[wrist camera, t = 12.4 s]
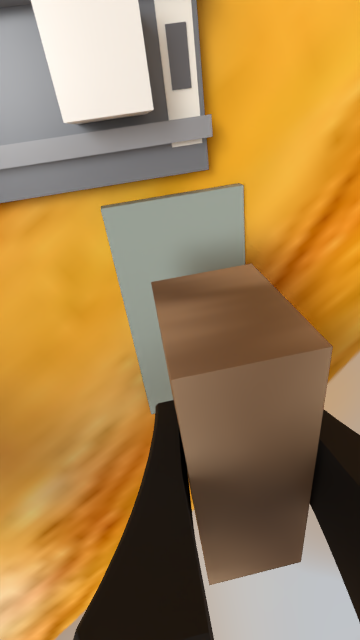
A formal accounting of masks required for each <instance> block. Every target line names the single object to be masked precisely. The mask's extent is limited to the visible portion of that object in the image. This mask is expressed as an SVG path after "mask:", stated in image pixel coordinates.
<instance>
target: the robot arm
mask: <svg viewBox="0 0 360 640" xmlns="http://www.w3.org/2000/svg"><path fill="white" fill-rule="evenodd" d="M155 411H156V412H155V424H154V431H153V438H152V442H151V447H150V452H149V457H148V461H147V465H146V468H145V472H144V476H143V479H142V483H141V486H140V489H139V492H138V495H137V498H136V501H135V504H134V507H133V510H132V512H131V515H130V518H129V520H128V523H127V525H126V528H125V530H124V533H123V535H122V538H121V540H120V542H119V545H118V547H117V549H116V551H115V554H114V556H113V558H112V560H111V562H110V564H109V566H108V569H107V571H106V573H105V575H104V577H103V579H102V581H101V583H100V585H99V587H98V589H97V591H96V593H95V595H94V597H93V599H92V601H91V602H90V604H89V606H88V608H87V610H86V612H85V614H84V616H83V617H82V619H81V621H80V623H79V625H78V627H77V629H76V632H75V636H74V639H73V640H214V638H213V632H212V627H211V622H210V616H209V611H208V606H207V600H206V596H205V590H204V585H203V579H202V575H201V568H200V563H199V558H198V552H197V548H196V541H195V535H194V528H193V518H192V509H191V500H190V490H189V481H188V472H187V467H186V461H185V456H184V451H183V445H182V440H181V435H180V429H179V424H178V419H177V414H176V409H175V404H174V400H171V401H166V402H162V403H158V404H157V405H156V406H155ZM310 505H311V507H312V509H313V511H314V513H315V515H316V518H317V520H318V522H319V524H320V527H321V529H322V531H323V533H324V536H325V538H326V540H327V543H328V545H329V547H330V550H331V552H332V555H333V557H334V559H335V562H336V564H337V566H338V569H339V571H340V574H341V576H342V578H343V581H344V584H345V586H346V589H347V590H348V594H349V596H350V599H351V601H352V603H353V606H354V609H355V611H356V613H357V616H358V619H359V622H360V435H359V434H357V433H356V432H354V431H353V430H351V429H350V428H349V427H347V426H346V425H344V424H343V423H341V422H340V421H339V420H337V419H336V418H334V417H333V416H332V415H331V414H329V413H328V412H327V411H325V410H324V409H323V415H322V422H321V429H320V436H319V442H318V449H317V456H316V463H315V469H314V476H313V483H312V490H311V496H310Z"/></svg>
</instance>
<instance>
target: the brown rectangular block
mask: <svg viewBox="0 0 360 640" xmlns="http://www.w3.org/2000/svg"><path fill="white" fill-rule="evenodd" d="M151 285H152V291H153V296H154V301H155V306H156V312H157V317H158V322H159V327H160V333H161V338H162V343H163V348H164V354H165V359H166V364H167V369H168V375H169V380H170V385H171V390H172V396H173V400H174V404H175V409H176V414H177V419H178V424H179V429H180V435H181V440H182V445H183V451H184V456H185V461H186V467H187V472H188V479H189V484H190V489H191V495H192V500H193V505H194V510H195V515H196V520H197V525H198V529H199V535H200V540H201V544H202V550H203V555H204V560H205V565H206V570H207V575H208V581H209V585H212V584H216V583H220V582H224V581H228V580H232V579H235V578H239V577H243V576H247V575H251V574H255V573H259V572H263V571H267V570H271V569H275V568H279V567H283V566H287V565H291V564H294V563H298V562H301V557H302V550H303V543H304V537H305V530H306V523H307V517H308V510H309V503H310V496H311V490H312V483H313V476H314V469H315V463H316V456H317V449H318V442H319V436H320V429H321V422H322V415H323V409H324V401H325V394H326V388H327V382H328V375H329V368H330V361H331V354H332V348H333V346H332V345H331V344H330V343H329V342H328V341H327V340H326V339H325V338H324V337H323V336H322V335H321V334H320V333H319V332H318V331H317V330H316V329H315V328H314V327H313V326H312V325H311V324H310V323H309V322H308V321H307V320H306V319H305V318H304V317H303V316H302V315H301V314H300V313H299V312H298V311H297V310H296V309H295V308H294V307H293V306H292V305H291V304H290V303H289V302H288V300H287V299H286V298H285V297H284V296H283V295H282V294H281V293H280V292H279V291H278V290H277V289H276V288H275V287H274V286H273V285H272V284H271V283H270V282H269V281H268V280H267V279H266V278H265V277H264V276H263V275H262V274H261V273H260V272H259V271H258V270H257V269H256V268H255V267H254V266H253V265H252V264H246V265H241V266H235V267H230V268H225V269H219V270H214V271H208V272H203V273H197V274H192V275H186V276H181V277H176V278H170V279H165V280H159V281H154V282H151Z"/></svg>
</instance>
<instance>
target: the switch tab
mask: <svg viewBox="0 0 360 640" xmlns="http://www.w3.org/2000/svg"><path fill="white" fill-rule="evenodd" d="M31 3H32V7H33V11H34V14H35V18H36V22H37V26H38V29H39V33H40V37H41V40H42V44H43V48H44V52H45V55H46V59H47V63H48V67H49V70H50V74H51V78H52V81H53V85H54V89H55V93H56V96H57V100H58V104H59V107H60V111H61V115H62V119H63V122H64V123H68V124H83V123H90V122H97V121H104V120H111V119H118V118H124V117H131V116H138V115H145V114H147V113H149V112H151V111H153V110H154V108H153V101H152V94H151V87H150V80H149V73H148V66H147V59H146V52H145V45H144V38H143V31H142V24H141V17H140V10H139V3H138V0H31Z"/></svg>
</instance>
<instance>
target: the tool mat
mask: <svg viewBox="0 0 360 640" xmlns="http://www.w3.org/2000/svg"><path fill="white" fill-rule="evenodd" d="M101 212H102V216H103V220H104V224H105V228H106V232H107V236H108V240H109V245H110V249H111V253H112V257H113V261H114V265H115V269H116V273H117V277H118V281H119V285H120V289H121V293H122V297H123V301H124V305H125V309H126V313H127V317H128V321H129V326H130V330H131V334H132V338H133V342H134V346H135V350H136V354H137V358H138V362H139V366H140V370H141V374H142V378H143V382H144V386H145V390H146V394H147V398H148V402H149V407H150V411H151V414H155V412H156V411H155V406H156V405H157V404H158V403H162V402H166V401H171V400H173V396H172V390H171V385H170V380H169V375H168V369H167V364H166V359H165V354H164V348H163V343H162V338H161V333H160V327H159V322H158V317H157V312H156V306H155V301H154V296H153V291H152V285H151V282H154V281H159V280H165V279H170V278H176V277H181V276H186V275H192V274H197V273H203V272H208V271H214V270H219V269H225V268H230V267H235V266H241V265H245V235H244V192H243V185H242V184H240V183H238V184H232V185H226V186H220V187H214V188H208V189H202V190H196V191H190V192H184V193H178V194H172V195H166V196H160V197H154V198H148V199H142V200H136V201H129V202H123V203H117V204H111V205H105V206H101Z"/></svg>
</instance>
